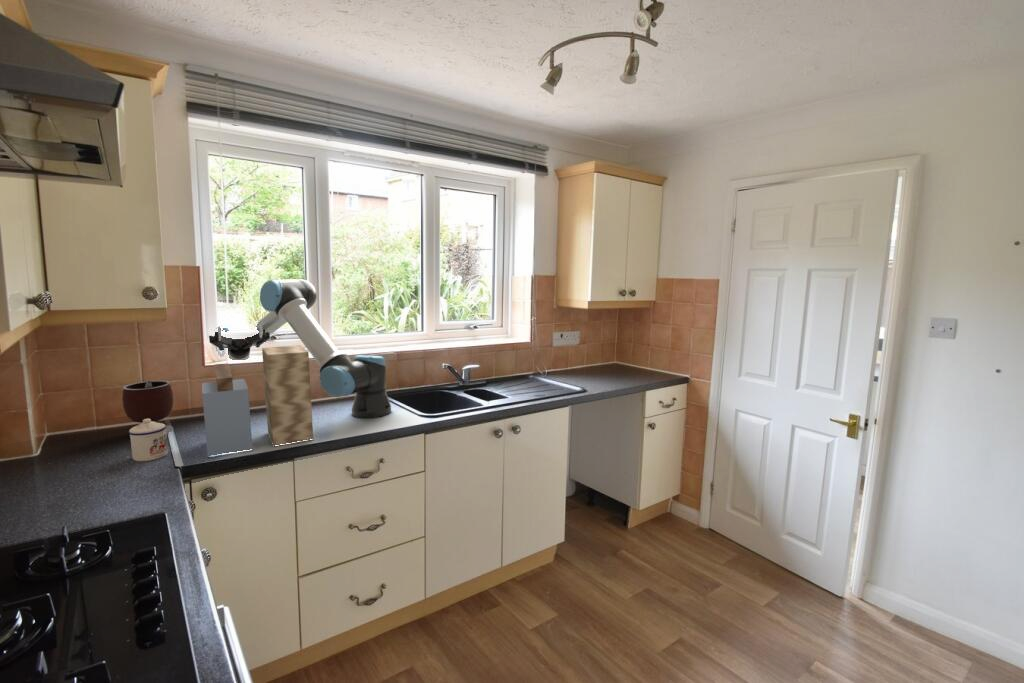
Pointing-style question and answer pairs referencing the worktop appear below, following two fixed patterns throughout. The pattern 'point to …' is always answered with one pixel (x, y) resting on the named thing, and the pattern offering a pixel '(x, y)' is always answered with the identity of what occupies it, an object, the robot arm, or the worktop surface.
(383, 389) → the robot arm
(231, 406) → the slate base
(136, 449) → the teacup with lid
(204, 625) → the worktop surface
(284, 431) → the oak stand
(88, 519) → the worktop surface
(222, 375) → the walnut bar
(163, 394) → the mate gourd
